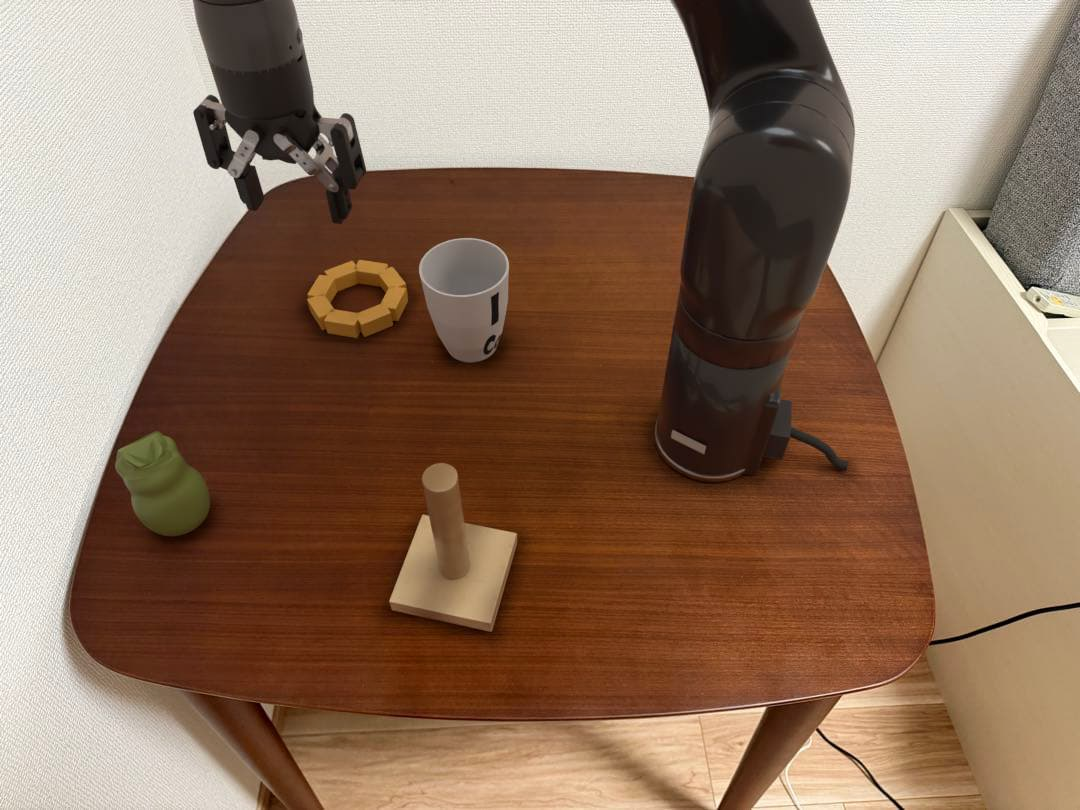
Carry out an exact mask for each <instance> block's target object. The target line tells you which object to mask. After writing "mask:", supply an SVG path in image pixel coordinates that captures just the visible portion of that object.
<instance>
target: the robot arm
mask: <svg viewBox="0 0 1080 810" xmlns="http://www.w3.org/2000/svg"><path fill="white" fill-rule="evenodd" d="M669 2H670V3H671V5H672V7H673V8H674V10H675V12H676V14H677V16H678V18H679V21H680V22H681V24H682V26H683V28H684V31H685V34H686V37H687V39H688V41H689V45H690V48H691V51H692V54H693V57H694V60H695V63H696V68H697V71H698V74H699V77H700V82H701V85H702V88H703V93H704V96H705V101H706V106H707V111H708V112H707V113H708V122H709V123H708V130H707V134H706V136H705V139H704V143H703V147H702V150H701V153H700V156H699V160H698V163H697V166H696V169H695V174H694V180H693V183H692V189H691V194H690V200H689V207H688V213H687V219H686V227H685V234H684V240H683V247H682V254H681V261H680V265H679V266H680V267H679V274H680V283H679V290H678V295H677V302H676V307H675V315H674V318H673V319H674V320H673V326H672V331H671V338H670V343H669V348H668V354H667V355H668V356H667V361H666V367H665V372H664V373H665V374H664V378H663V383H662V384H663V385H662V390H661V395H660V402H659V408H658V413H657V418H656V420H655V421H656V422H655V424H654V425H655V426H654V434H653V440H654V444H655V447H656V450H657V452H658V454H659V455H660V457H661V458H662V460H663V461H664V462H665V463H666V464H667V465H668V466H669V467H670V468H671V469H673V470H674V471H676V472H677V473H679V474H680V475H682V476H684V477H687V478H690V479H692V480H696V481H700V482H705V483H722V482H723V483H724V482H727V481H732V480H734V479H737V478H739V477H741V476H743V475H747V476H753V477H755V476H756V475H758V471H759V468H760V466H761V463H762V460H763V457H765V458H772V459H776V460H783V458H784V456H785V453H786V451H787V447H788V445H789V442H790V439H791V438H792V439H794V440H796V441H799V442H801V443H804V444H806V445H808V446H810V447H813V448H814V449H816V450H817V451H819V452H821V453H822V454H823V455H824V456H825V457H826V459H827V460H828V462H829V463H830V464H831V465H832V466H833V467H835V468H836V469H838V470H841V471H847V470H848V466H849V461H848V460H843V459H841V458H839V456H838V455H837V453H836V452H835V450H834V449H833V448H832V447H831V446H830V445H829V444H827V442H825V441H823V440H821V439H819V438H817V437H816V436H814V435H811V434H809V433H807V432H805V431H802V430H799V429H798V428H795V427H792V410H793V409H792V408H793V406H792V405H793V401H792V400H788V399H783V398H782V383H783V380H784V376H785V373H786V370H787V367H788V364H789V361H790V358H791V354H792V352H793V348H794V346H795V343H796V340H797V338H798V337H797V336H798V334H799V331H800V327H801V325H802V322H803V319H804V315H805V313H806V310H807V307H808V305H809V304H810V303H811V302H812V300H813V299H814V297H815V295H816V293H817V291H818V288H819V287H820V283H821V280H822V278H823V274H824V272H825V269H826V266H827V264H828V261H829V258H830V256H831V253H832V251H833V248H834V244H835V241H836V239H837V236H838V233H839V231H840V227H841V225H842V221H843V218H844V215H845V212H846V209H847V205H848V201H849V196H850V193H851V192H850V191H851V185H852V176H853V175H852V174H853V173H852V172H853V161H854V150H855V136H856V125H855V118H854V112H853V108H852V104H851V102H850V98H849V95H848V93H847V90H846V88H845V85H844V82H843V80H842V78H841V75H840V73H839V70H838V69H837V66H836V63H835V61H834V59H833V57H832V54H831V52H830V49H829V46H828V44H827V42H826V40H825V37H824V34H823V32H822V28H821V26H820V23H819V22H818V19H817V16H816V14H815V13H816V12H815V10H814V8H813V6H812V2H811V1H810V0H669ZM192 4H193V9H194V16H195V22H196V26H197V29H198V32H199V36H200V38H201V41H202V45H203V48H204V51H205V54H206V58H207V61H208V64H209V67H210V70H211V73H212V77H213V79H214V83H215V87H216V88H217V93H218V96H219V99H220V100H219V99H218V97H216V95H213V94H208V95H207V96H206V97H205V98H204V99H203V100H202V101H201V102H200V103H199V104H198V105H197V106H196V108H195V109H194V110H193V112H192V114H193V117H194V121H195V125H196V128H197V132H198V135H199V138H200V142H201V145H202V150H203V153H204V156H205V159H206V163H207V165H208V166H209V167H210V168H211V169H214V170H219V169H220V168H221V169H223V170H226V171H227V174H228V175H229V176H230V177H232V178H233V181H234V184H235V187H236V190H237V193H238V197H239V199H240V201H241V202H242V203H243V205H244V204H245V206H246V209H247V210H248V211H254V212H256V211H258V210H259V208H260V207H261V205H262V204H263V203H264V201H265V194H264V191H263V188H262V185H261V181H260V177H259V174H258V171H257V168H256V166H255V165H252V164H251V163H252V162H253V160H254V158H255V156H256V155H258V156H260V157H261V158H262V160H265V161H271V162H272V161H281V162H283V163H286V164H291V165H296V164H297V165H299V167H300V168H301V169H302V170H303V171H304V172H305V173H306V174H307V175H308V176H312V177H313V176H314V177H315V178H316V179H317V180H318V181H319V182H320V183H321V184H322V185H323V187H325V188H326V190H325V196H326V200H327V205H328V209H329V210H328V211H329V213H330V218H331V222H332V224H338V225H343V223H344V221H345V220H346V219H347V218H348V216H349V215H350V213H351V211H352V209H353V203H352V198H351V193H350V190H355V189H356V188H357V187H358V185H359V183H360V181H361V179H362V178H363V177H364V176H365V174H366V173H367V167H366V163H365V159H364V155H363V151H362V146H361V142H360V138H359V134H358V130H357V126H356V122H355V118H354V117H353V115H351V114H350V113H347V112H344V113H342V114H341V115H340V117H339V118H335V117H334V118H332V117H322V115H321V114H320V112H319V110H318V109H317V107H316V105H315V97H314V86H313V81H312V77H311V73H310V68H309V63H308V59H307V54H306V50H305V45H304V41H303V40H304V38H303V31H302V29H301V26H300V22H299V18H298V14H297V9H296V6H295V3H294V0H192ZM226 124H227V125H228V126H229V127H230V128H231V129H232V130H233V131H234V132H235V134H236V135H238V137H239V138H241V139H242V140H240V143H239V145H238V147H237V149H236V150H233V149H232V145H231V141H230V136H229V133H228V130H227V126H226ZM321 134H323V135H324V136H325V137H326V138H327V140H328V141H327V140H326V139H325V138H324V137H323V136H322V135H321ZM312 148H313V149H314V151H315V156H314V157H312V156H311V155H310V154H309V152H310V151H311V150H312ZM334 153H335V154H334Z"/></svg>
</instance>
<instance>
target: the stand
mask: <svg viewBox="0 0 1080 810" xmlns="http://www.w3.org/2000/svg"><path fill="white" fill-rule="evenodd" d="M421 484H422V488H423V493H424V498H425V503H426V508H427V513H428V515H427V514H421V517H420V520H419V521H418V525H417V527H416V530H415V533H414V536H413V538H412V540H411V543H410V545H409V548H408V551H407V553H406V555H405V559H404V561H403V563H402V566H401V569H400V572H399V574H398V577H397V579H396V582H395V585H394V586H393V590H392V593H391V595H390V598H389V601H388V602H389V606H390V609H391V611H394V612H399V613H403V614H407V615H412V616H416V617H420V618H425V619H430V620H435V621H439V622H444V623H448V624H454V625H458V626H462V627H467V628H472V629H477V630H482V631H484V632H490V633H491V632H493V629H494V626H495V623H496V619H497V615H498V612H499V608H500V604H501V602H502V597H503V594H504V591H505V587H506V584H507V580H508V577H509V573H510V570H511V565H512V563H513V559H514V556H515V552H516V548H517V545H518V534H517V532H513V531H508V530H502V529H498V528H492V527H487V526H482V525H479V524H478V525H477V524H473V523H467V522H465V516H464V511H463V510H464V509H463V502H462V496H461V488H460V482H459V474H458V471H457V469H456V468H455V467H454V466H452V465H451V464H449V463H446V462H437V463H434V464H431V465H429V466H428V467H427V468H426V469H425V470H424V471H423V473H422V476H421Z"/></svg>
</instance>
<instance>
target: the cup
mask: <svg viewBox="0 0 1080 810" xmlns="http://www.w3.org/2000/svg"><path fill="white" fill-rule="evenodd" d="M418 273H419V278H420V282H421V285H422V286H421V287H422V290H423V295H424V299H425V304H426V307H427V310H428V313H429V315H430V318H431V322H432V323H433V326H434V328H435V331H436V334H437V336H438V338H439V339H440V341H441V342H442V344H443V346H444V347H445V350H447V352H448V353H449V354H450V356H451V357H452V358H453V359H455V360H457V361H460V362H463V363H477V362H481V361H484V360H486V359H488V358H490V357H492V355H493V354H494V353H495V352H496V350H497V348H498V345H499V342H500V339H501V337H502V334H503V332H504V328H505V321H506V315H507V308H508V303H509V278H510V277H509V275H510V274H509V273H510V262H509V258H508V256H507V254H506V253H505V251H503V249H501V248H500V247H499V246H497V245H496V244H494V243H493V242H490V241H487V240H485V239H480V238H474V237H463V238H454V239H449V240H446V241H443V242H441V243H438V244H437V245H434V246H433V247H432V248H430V249H429V250H428V251H427V252H426V253H425V254H423V257H421V260H420V262H419V265H418Z"/></svg>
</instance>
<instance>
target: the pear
mask: <svg viewBox="0 0 1080 810" xmlns="http://www.w3.org/2000/svg"><path fill="white" fill-rule="evenodd" d="M114 466H115V470H116V472H117V474H118V475H119V476H120V477H121V479H122V480H123V482H124V484H125V487H126V488H127V490H128V491H129V493H130V496H131V497H130V498H131V499H130V500H131V507H132V509H133V513H134V515H135V516H136V517H137V518H138V520H139V521H140V522H141V523H142V524H143V525H144V526H145V527H146V528H147V529H148V530H150V531H151V532H153V533H155V534H158V535H160V536H164V537H179V536H183V535H186V534H188V533H191V532H192V531H194V530H195V529H197V528H198V527H200V525H202V523H203V522H204V521H205V520H206V518H207V516H208V514H209V511H210V506H211V495H210V490H209V487H208V484H207V482H206V480H205V479H204V477H203V475H201V473H200V472H199V471H198V470H197V469H196V468H194V467H192V466H191V465H189V464H188V463H187V462H186V459H185V458H184V457H183V456H182V454H181V453H180V452H179V450H178V446H177V444H176V442H175V440H174V439H173V438H172V437H170V436H167V435H164V434H163V433H162V432H161V431H158V430H155V431H153V432H151V433H148V434H147V435H145V436H143V437H141V438H139V439H137V440H135V441H134V442H131V443H129V444H127V445H125V446H123V447H121V448H119V449H118V450H117V453H116V460H115V464H114Z"/></svg>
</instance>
